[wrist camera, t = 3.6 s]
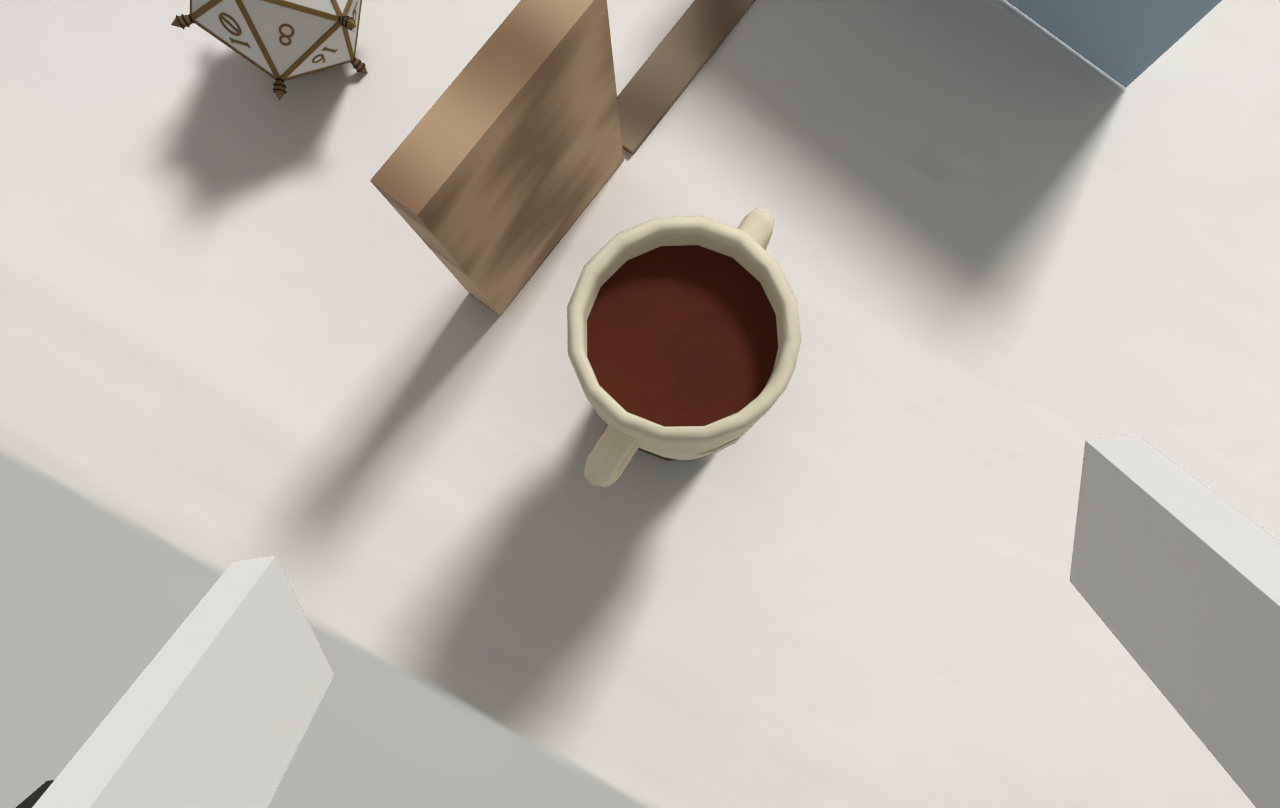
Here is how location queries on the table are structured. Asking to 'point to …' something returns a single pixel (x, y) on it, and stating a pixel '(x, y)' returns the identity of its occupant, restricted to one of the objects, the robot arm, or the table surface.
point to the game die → (283, 33)
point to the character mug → (681, 338)
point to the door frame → (536, 136)
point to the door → (1117, 29)
